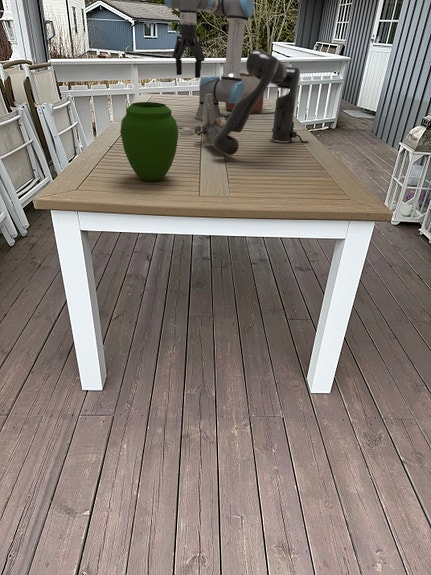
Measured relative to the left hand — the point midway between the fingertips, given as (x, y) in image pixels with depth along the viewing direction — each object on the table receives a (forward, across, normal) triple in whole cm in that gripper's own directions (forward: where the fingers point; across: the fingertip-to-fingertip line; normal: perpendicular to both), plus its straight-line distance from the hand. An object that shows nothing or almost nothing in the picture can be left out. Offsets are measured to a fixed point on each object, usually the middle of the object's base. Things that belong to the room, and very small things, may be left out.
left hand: (188, 76), depth 198 cm
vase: (+26, +49, -60) cm, 82 cm away
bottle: (+26, +20, -5) cm, 33 cm away
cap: (+24, 0, -1) cm, 24 cm away
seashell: (+27, +9, +15) cm, 32 cm away
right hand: (+20, +18, -4) cm, 28 cm away
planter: (+28, -34, +81) cm, 92 cm away
